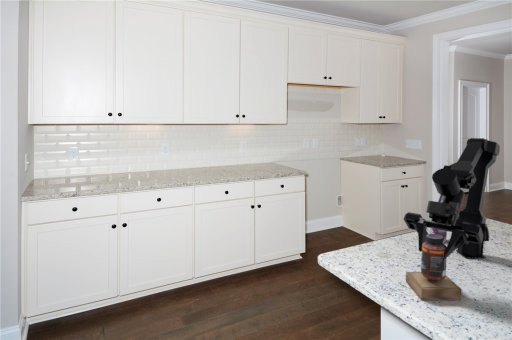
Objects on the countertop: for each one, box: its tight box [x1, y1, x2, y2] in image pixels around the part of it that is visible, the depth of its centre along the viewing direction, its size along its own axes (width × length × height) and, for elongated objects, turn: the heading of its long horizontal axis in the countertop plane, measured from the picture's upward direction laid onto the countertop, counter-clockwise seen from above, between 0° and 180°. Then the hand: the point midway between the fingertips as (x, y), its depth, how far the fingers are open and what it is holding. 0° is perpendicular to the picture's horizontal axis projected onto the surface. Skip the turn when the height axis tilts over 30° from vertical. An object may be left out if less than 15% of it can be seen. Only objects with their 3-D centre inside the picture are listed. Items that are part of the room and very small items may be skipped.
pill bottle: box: [430, 228, 448, 244], centre depth 126 cm, size 5×5×10 cm
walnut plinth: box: [405, 271, 463, 301], centre depth 90 cm, size 10×10×3 cm
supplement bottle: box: [420, 233, 448, 280], centre depth 89 cm, size 6×6×11 cm
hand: (431, 254), depth 88 cm, fingers closed on supplement bottle, 6 cm apart
